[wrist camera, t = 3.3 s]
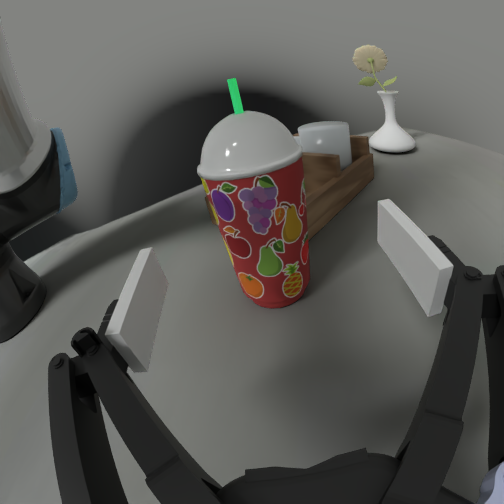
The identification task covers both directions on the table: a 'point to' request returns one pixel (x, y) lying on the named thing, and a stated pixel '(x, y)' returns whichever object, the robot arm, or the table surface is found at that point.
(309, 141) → the mug
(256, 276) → the smoothie
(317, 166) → the rack
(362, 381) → the table surface
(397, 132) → the flower in vase
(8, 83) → the robot arm
